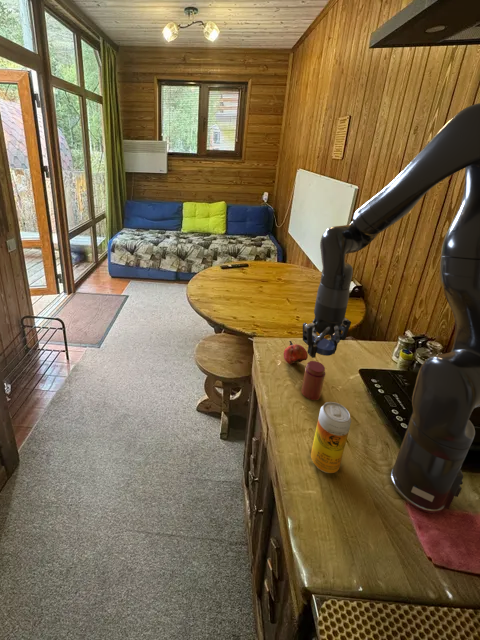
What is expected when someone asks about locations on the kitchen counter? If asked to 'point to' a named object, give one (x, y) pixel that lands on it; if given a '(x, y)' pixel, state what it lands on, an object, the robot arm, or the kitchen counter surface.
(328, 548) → the kitchen counter surface
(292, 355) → the pomegranate
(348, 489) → the kitchen counter surface
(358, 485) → the kitchen counter surface
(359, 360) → the kitchen counter surface
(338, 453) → the beer can
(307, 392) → the jar
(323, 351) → the lid
